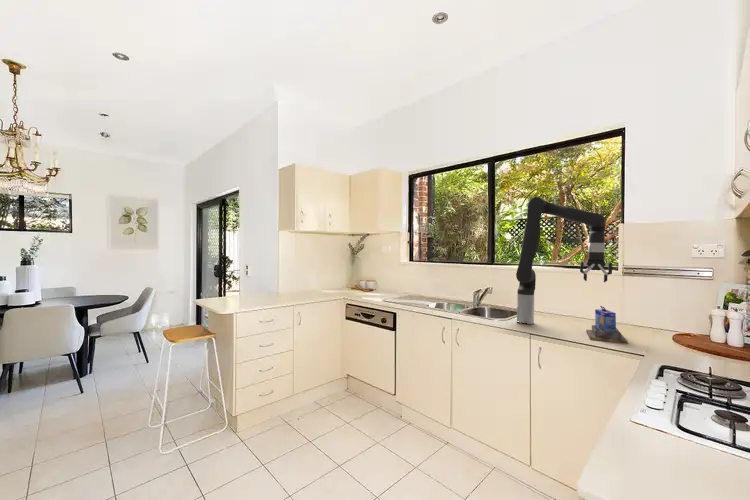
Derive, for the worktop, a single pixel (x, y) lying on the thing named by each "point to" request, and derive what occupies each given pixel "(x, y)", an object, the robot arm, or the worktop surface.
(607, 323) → the ink cartridge box
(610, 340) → the docking frame
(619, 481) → the worktop surface
